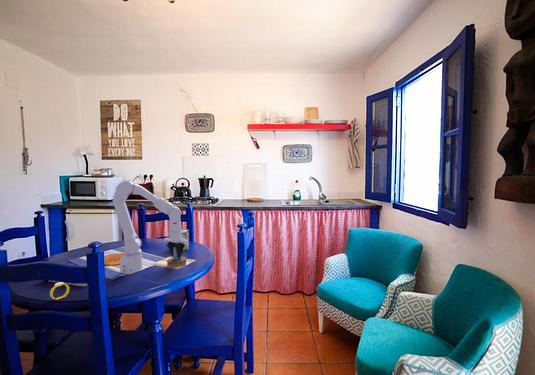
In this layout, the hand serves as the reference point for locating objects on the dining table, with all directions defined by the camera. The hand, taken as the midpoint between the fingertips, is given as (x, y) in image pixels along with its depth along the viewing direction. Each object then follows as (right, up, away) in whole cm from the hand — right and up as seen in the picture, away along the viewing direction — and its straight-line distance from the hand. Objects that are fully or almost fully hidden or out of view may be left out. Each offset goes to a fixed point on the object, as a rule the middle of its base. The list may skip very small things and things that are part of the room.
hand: (176, 256), depth 138 cm
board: (-2, -4, +3) cm, 6 cm away
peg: (0, -3, 0) cm, 3 cm away
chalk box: (-7, -3, +28) cm, 30 cm away
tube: (-42, -7, -19) cm, 46 cm away
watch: (-34, -8, -34) cm, 48 cm away
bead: (0, -4, 0) cm, 4 cm away
